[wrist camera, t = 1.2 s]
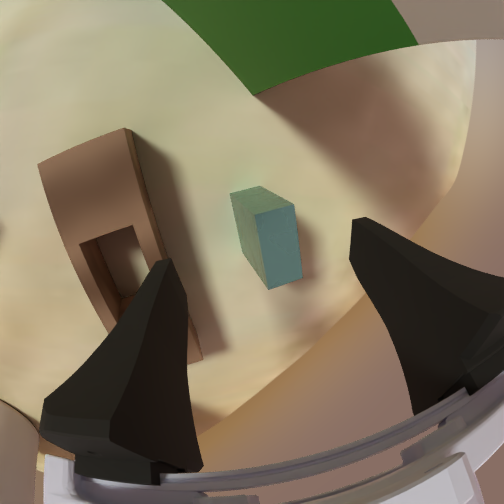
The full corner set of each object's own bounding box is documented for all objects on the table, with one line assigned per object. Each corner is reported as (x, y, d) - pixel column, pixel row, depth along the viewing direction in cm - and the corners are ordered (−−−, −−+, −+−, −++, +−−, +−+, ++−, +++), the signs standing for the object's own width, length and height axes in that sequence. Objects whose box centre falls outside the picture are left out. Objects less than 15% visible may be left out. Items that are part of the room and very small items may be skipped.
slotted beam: (196, 333, 24) (203, 359, 21) (137, 350, 23) (137, 377, 20) (131, 130, 16) (123, 127, 13) (56, 159, 15) (37, 164, 12)
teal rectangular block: (270, 244, 23) (302, 278, 18) (242, 252, 23) (268, 289, 17) (259, 185, 21) (293, 204, 16) (229, 193, 20) (254, 214, 15)
